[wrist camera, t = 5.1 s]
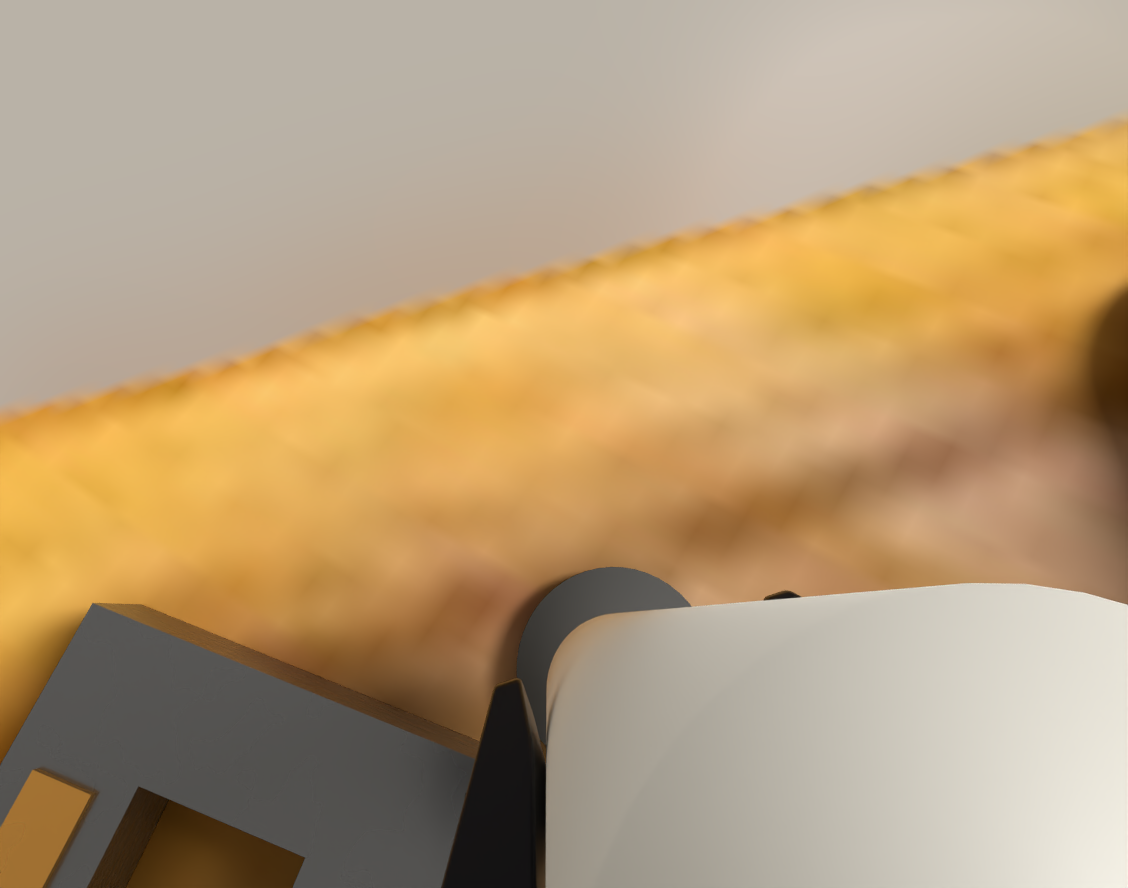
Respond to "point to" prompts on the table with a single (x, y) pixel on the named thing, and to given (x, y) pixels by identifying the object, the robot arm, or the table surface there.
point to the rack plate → (220, 762)
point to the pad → (582, 620)
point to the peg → (843, 743)
